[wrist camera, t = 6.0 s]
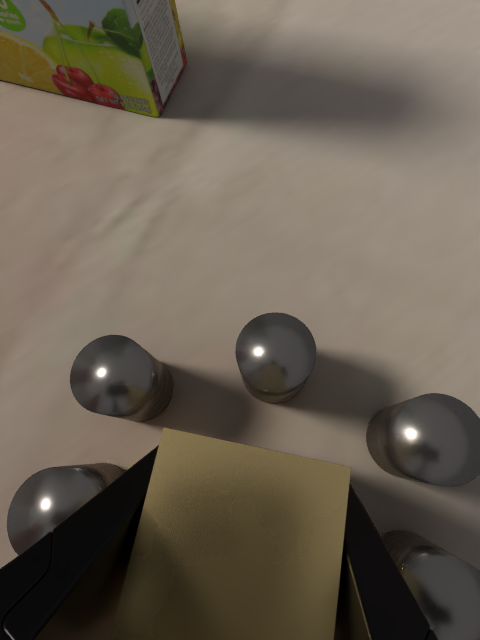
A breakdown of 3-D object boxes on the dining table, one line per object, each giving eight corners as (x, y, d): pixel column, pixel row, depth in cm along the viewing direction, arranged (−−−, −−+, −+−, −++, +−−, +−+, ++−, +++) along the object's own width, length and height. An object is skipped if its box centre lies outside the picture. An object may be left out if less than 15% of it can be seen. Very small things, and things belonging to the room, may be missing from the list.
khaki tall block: (291, 564, 15) (326, 712, 6) (193, 539, 15) (107, 649, 7) (305, 458, 16) (350, 467, 8) (215, 439, 17) (163, 427, 8)
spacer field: (444, 628, 14) (509, 692, 10) (56, 529, 16) (-7, 553, 12) (451, 371, 17) (502, 349, 14) (123, 314, 19) (89, 281, 16)
